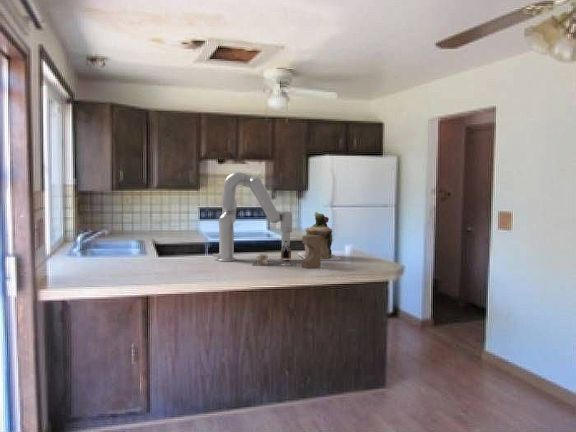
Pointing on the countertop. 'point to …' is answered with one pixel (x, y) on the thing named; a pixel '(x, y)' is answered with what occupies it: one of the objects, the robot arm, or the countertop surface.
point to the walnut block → (283, 253)
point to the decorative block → (312, 251)
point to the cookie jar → (326, 238)
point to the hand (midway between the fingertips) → (286, 256)
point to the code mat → (276, 264)
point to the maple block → (262, 259)
